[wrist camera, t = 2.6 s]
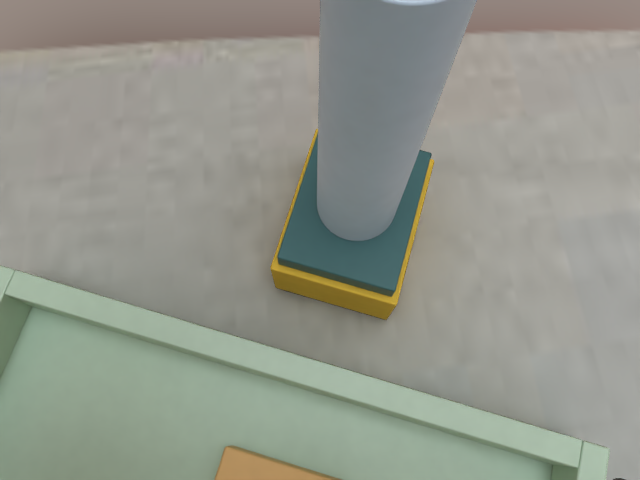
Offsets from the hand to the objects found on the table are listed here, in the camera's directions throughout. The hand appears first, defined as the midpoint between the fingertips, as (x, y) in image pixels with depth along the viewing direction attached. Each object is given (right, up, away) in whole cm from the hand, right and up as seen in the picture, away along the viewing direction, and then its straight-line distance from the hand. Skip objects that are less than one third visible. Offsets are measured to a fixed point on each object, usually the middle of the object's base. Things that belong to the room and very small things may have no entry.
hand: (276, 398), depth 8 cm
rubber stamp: (+2, +2, +13) cm, 14 cm away
